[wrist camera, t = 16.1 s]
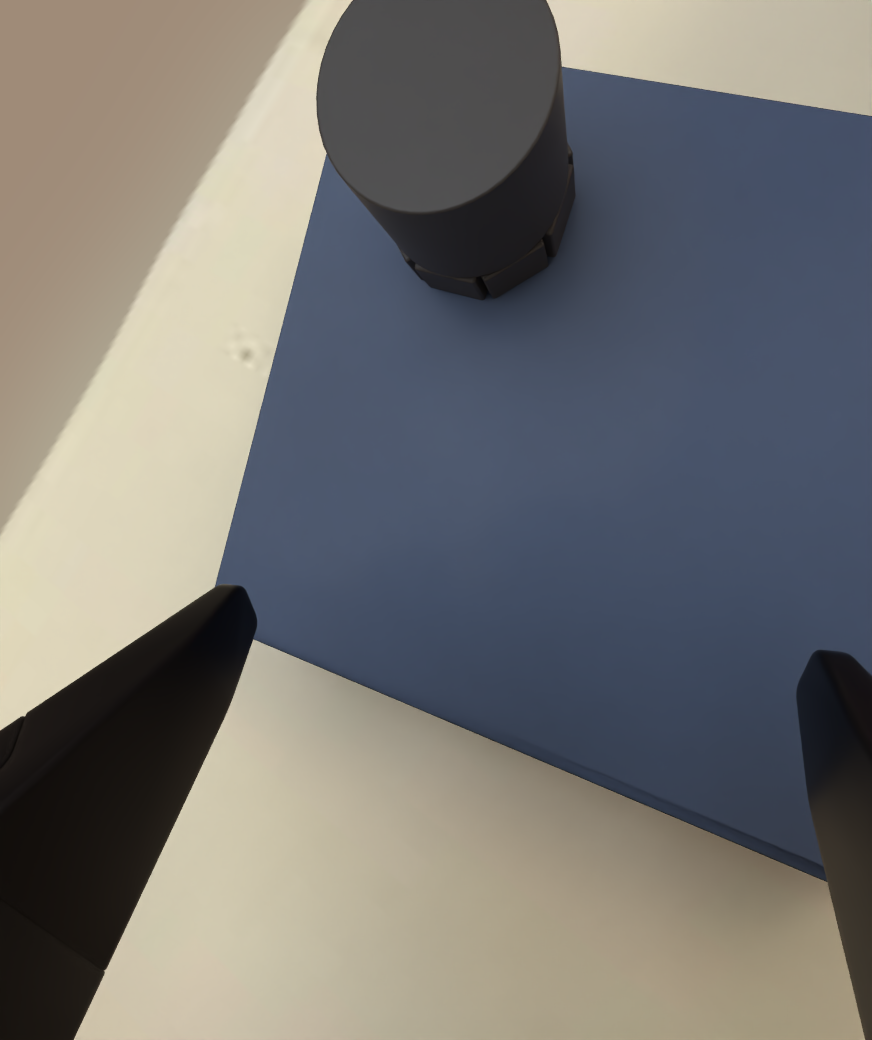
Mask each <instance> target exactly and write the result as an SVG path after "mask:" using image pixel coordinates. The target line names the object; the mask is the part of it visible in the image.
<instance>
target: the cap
mask: <svg viewBox="0 0 872 1040" xmlns="http://www.w3.org/2000/svg"><path fill="white" fill-rule="evenodd" d="M316 100H317V118H318V125H319V131H320V135H321V138H322V142H323V145H324V148H325V150H326V153H327V155H328V157H329V160H330V161H331V163H332V165H333V166H334V168H335V170H336V172H337V173H338V174H339V176H340V177H341V178H342V179H343V181H344V182H345V183H346V184H347V186H348V187H349V188H350V189H351V190H352V192H353V193H354V194H355V195H356V196H357V197H358V199H359V200H360V201H361V202H362V203H363V205H364V206H365V207H366V208H367V209H368V211H369V212H370V213H371V214H372V215H373V217H374V218H375V219H376V220H377V221H378V223H379V224H380V225H381V226H382V227H383V229H384V230H385V231H386V232H387V233H388V235H389V236H390V237H391V238H392V239H393V240H394V242H395V243H396V244H397V246H398V248H399V250H400V252H401V254H402V256H403V258H404V260H405V262H406V263H407V264H408V265H409V266H410V268H411V269H412V270H413V271H414V272H415V273H416V274H417V276H418V277H419V278H420V279H421V280H425V282H426V283H427V284H428V285H429V286H430V287H432V288H436V289H440V290H443V291H447V292H451V293H455V294H459V295H463V296H467V297H471V298H475V299H479V300H484V299H485V298H486V294H487V291H489V292H490V294H491V296H492V298H494V299H495V298H497V297H499V296H500V295H502V294H504V293H505V292H507V291H509V290H510V289H512V288H514V287H515V286H517V285H519V284H520V283H522V282H523V281H525V280H527V279H528V278H530V277H532V276H533V275H535V274H537V273H538V272H540V271H542V270H543V269H545V268H547V267H548V260H547V256H550V257H555V256H556V255H557V252H558V249H559V246H560V243H561V240H562V236H563V233H564V230H565V227H566V224H567V221H568V218H569V215H570V212H571V208H572V205H573V202H574V199H575V196H576V195H575V177H574V166H573V152H572V150H571V148H570V146H569V144H568V142H567V134H566V120H565V106H564V92H563V79H562V65H561V51H560V44H559V36H558V31H557V28H556V24H555V20H554V17H553V14H552V12H551V10H550V8H549V5H548V3H547V1H546V0H353V1H352V2H351V4H350V5H349V6H348V8H347V9H346V11H345V12H344V13H343V15H342V16H341V18H340V20H339V22H338V23H337V25H336V27H335V29H334V31H333V33H332V35H331V37H330V40H329V42H328V44H327V47H326V49H325V53H324V56H323V59H322V62H321V67H320V72H319V77H318V84H317V96H316Z"/></svg>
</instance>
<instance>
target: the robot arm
mask: <svg viewBox="0 0 872 1040" xmlns="http://www.w3.org/2000/svg"><path fill="white" fill-rule="evenodd" d="M256 629H257V616H256V613H255V611H254V608H253V606H252V603H251V601H250V598H249V596H248V594H247V591H246V589H245V588H244V587H242V586H240V585H231V584H220V585H218V586H216V587H215V588H213V589H212V590H210V591H209V592H207V593H206V594H204V595H203V596H201V597H200V598H198V599H197V600H195V601H194V602H192V603H191V604H189V605H188V606H186V607H185V608H183V609H182V610H180V611H179V612H177V613H176V614H174V615H173V616H171V617H170V618H168V619H167V620H165V621H164V622H162V623H161V624H159V625H158V626H156V627H155V628H153V629H152V630H150V631H149V632H147V633H146V634H144V635H143V636H141V637H140V638H138V639H137V640H135V641H134V642H132V643H131V644H129V645H128V646H126V647H125V648H123V649H122V650H120V651H119V652H117V653H116V654H114V655H113V656H111V657H110V658H108V659H107V660H105V661H104V662H102V663H101V664H99V665H98V666H96V667H95V668H93V669H92V670H90V671H89V672H87V673H86V674H84V675H83V676H82V677H80V678H79V679H77V680H76V681H74V682H73V683H71V684H70V685H68V686H67V687H65V688H64V689H62V690H61V691H59V692H58V693H56V694H55V695H53V696H52V697H50V698H49V699H47V700H46V701H44V702H43V703H41V704H40V705H38V706H37V707H35V708H34V709H32V710H31V711H29V712H28V713H27V714H26V716H25V717H24V716H22V717H20V718H18V719H17V720H15V721H14V722H13V723H11V724H10V725H8V726H7V727H5V728H4V729H2V730H1V731H0V1040H74V1038H75V1036H76V1033H77V1031H78V1029H79V1027H80V1025H81V1023H82V1021H83V1019H84V1016H85V1014H86V1012H87V1010H88V1008H89V1006H90V1004H91V1002H92V999H93V997H94V995H95V993H96V991H97V989H98V987H99V985H100V982H101V980H102V978H103V976H104V974H105V971H104V970H106V968H107V967H108V965H109V962H110V960H111V958H112V956H113V954H114V952H115V950H116V948H117V945H118V943H119V941H120V939H121V937H122V935H123V933H124V931H125V928H126V926H127V924H128V922H129V920H130V918H131V916H132V913H133V911H134V909H135V907H136V905H137V903H138V901H139V899H140V896H141V894H142V892H143V890H144V888H145V886H146V884H147V882H148V879H149V877H150V875H151V873H152V871H153V869H154V867H155V864H156V862H157V860H158V858H159V856H160V854H161V852H162V850H163V847H164V845H165V843H166V841H167V839H168V837H169V835H170V833H171V830H172V828H173V826H174V824H175V822H176V820H177V818H178V816H179V813H180V811H181V809H182V807H183V805H184V803H185V801H186V798H187V796H188V794H189V792H190V790H191V788H192V786H193V784H194V781H195V779H196V777H197V775H198V773H199V771H200V769H201V767H202V764H203V762H204V760H205V758H206V756H207V754H208V752H209V750H210V747H211V745H212V743H213V741H214V739H215V737H216V735H217V732H218V730H219V728H220V726H221V724H222V722H223V720H224V717H225V715H226V713H227V711H228V708H229V706H230V703H231V701H232V698H233V696H234V693H235V690H236V687H237V684H238V681H239V678H240V676H241V673H242V670H243V667H244V664H245V661H246V658H247V655H248V653H249V650H250V647H251V644H252V641H253V638H254V635H255V632H256ZM796 701H797V710H798V718H799V727H800V736H801V744H802V753H803V762H804V770H805V779H806V787H807V794H808V801H809V806H810V811H811V816H812V820H813V824H814V829H815V833H816V837H817V841H818V845H819V849H820V853H821V858H822V862H823V866H824V870H825V874H826V878H827V882H828V887H829V891H830V895H831V899H832V903H833V907H834V911H835V916H836V920H837V924H838V928H839V932H840V936H841V940H842V945H843V949H844V953H845V957H846V961H847V965H848V969H849V974H850V978H851V982H852V986H853V990H854V994H855V999H856V1003H857V1007H858V1011H859V1015H860V1019H861V1023H862V1028H863V1032H864V1036H865V1040H872V675H871V674H870V673H869V672H868V671H867V670H866V669H865V668H864V667H863V666H862V665H861V664H860V663H859V662H858V661H857V660H856V659H855V658H854V657H853V656H851V655H850V654H848V653H845V652H839V651H830V650H816V651H815V652H813V654H812V655H811V657H810V659H809V661H808V663H807V665H806V667H805V670H804V672H803V674H802V676H801V678H800V680H799V682H798V685H797V691H796Z"/></svg>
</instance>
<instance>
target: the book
mask: <svg viewBox="0 0 872 1040" xmlns="http://www.w3.org/2000/svg"><path fill="white" fill-rule="evenodd" d="M562 79H563V92H564V106H565V120H566V134H567V142H568V144H569V146H570V148H571V150H572V152H573V166H574V177H575V195H576V196H575V199H574V202H573V205H572V208H571V212H570V215H569V218H568V221H567V224H566V227H565V230H564V233H563V236H562V240H561V243H560V246H559V249H558V252H557V255H556V256H555V257H550V256H547V260H548V267H547V268H545V269H543V270H542V271H540V272H538V273H537V274H535V275H533V276H532V277H530V278H528V279H527V280H525V281H523V282H522V283H520V284H519V285H517V286H515V287H514V288H512V289H510V290H509V291H507V292H505V293H504V294H502V295H500V296H499V297H497V298H495V299H494V298H492V296H491V294H490V292H489V291H487V294H486V298H485V299H484V300H479V299H475V298H471V297H467V296H463V295H459V294H455V293H451V292H447V291H443V290H440V289H436V288H432V287H430V286H429V285H428V284H427V283H426V282H425V280H421V279H420V278H419V277H418V276H417V274H416V273H415V272H414V271H413V270H412V269H411V268H410V266H409V265H408V264H407V263H406V262H405V260H404V258H403V256H402V254H401V252H400V250H399V248H398V246H397V244H396V243H395V242H394V240H393V239H392V238H391V237H390V236H389V235H388V233H387V232H386V231H385V230H384V229H383V227H382V226H381V225H380V224H379V223H378V221H377V220H376V219H375V218H374V217H373V215H372V214H371V213H370V212H369V211H368V209H367V208H366V207H365V206H364V205H363V203H362V202H361V201H360V200H359V199H358V197H357V196H356V195H355V194H354V193H353V192H352V190H351V189H350V188H349V187H348V186H347V184H346V183H345V182H344V181H343V179H342V178H341V177H340V176H339V174H338V173H337V172H336V170H335V168H334V166H333V165H332V163H331V161H330V160H329V157H328V155H327V154H326V158H325V162H324V166H323V170H322V174H321V178H320V182H319V185H318V189H317V193H316V197H315V201H314V205H313V209H312V213H311V216H310V220H309V224H308V228H307V232H306V236H305V240H304V244H303V248H302V251H301V255H300V259H299V263H298V267H297V271H296V275H295V279H294V282H293V286H292V290H291V294H290V298H289V302H288V306H287V310H286V313H285V317H284V321H283V325H282V329H281V333H280V337H279V341H278V344H277V348H276V352H275V356H274V360H273V364H272V368H271V372H270V375H269V379H268V383H267V387H266V391H265V395H264V399H263V403H262V406H261V410H260V414H259V418H258V422H257V426H256V430H255V434H254V438H253V441H252V445H251V449H250V453H249V457H248V461H247V465H246V469H245V472H244V476H243V480H242V484H241V488H240V492H239V496H238V500H237V503H236V507H235V511H234V515H233V519H232V523H231V527H230V531H229V534H228V538H227V542H226V546H225V550H224V554H223V558H222V562H221V565H220V569H219V573H218V577H217V581H216V585H215V587H216V586H218V585H220V584H231V585H240V586H242V587H244V588H245V589H246V591H247V594H248V596H249V598H250V601H251V603H252V606H253V608H254V611H255V613H256V616H257V629H256V632H255V635H254V638H253V639H254V640H257V641H259V642H261V643H264V644H266V645H268V646H271V647H273V648H276V649H278V650H280V651H283V652H285V653H287V654H290V655H292V656H294V657H297V658H299V659H301V660H304V661H306V662H309V663H311V664H313V665H316V666H318V667H320V668H323V669H325V670H327V671H330V672H332V673H335V674H337V675H339V676H342V677H344V678H346V679H349V680H351V681H353V682H356V683H358V684H361V685H363V686H365V687H368V688H370V689H372V690H375V691H377V692H379V693H382V694H384V695H387V696H389V697H391V698H394V699H396V700H398V701H401V702H403V703H405V704H408V705H410V706H413V707H415V708H417V709H420V710H422V711H424V712H427V713H429V714H431V715H434V716H436V717H439V718H441V719H443V720H446V721H448V722H450V723H453V724H455V725H457V726H460V727H462V728H465V729H467V730H469V731H472V732H474V733H476V734H479V735H481V736H483V737H486V738H488V739H491V740H493V741H495V742H498V743H500V744H502V745H505V746H507V747H509V748H512V749H514V750H517V751H519V752H521V753H524V754H526V755H528V756H531V757H533V758H535V759H538V760H540V761H543V762H545V763H547V764H550V765H552V766H554V767H557V768H559V769H561V770H564V771H566V772H568V773H571V774H573V775H576V776H578V777H580V778H583V779H585V780H587V781H590V782H592V783H594V784H597V785H599V786H602V787H604V788H606V789H609V790H611V791H613V792H616V793H618V794H620V795H623V796H625V797H628V798H630V799H632V800H635V801H637V802H639V803H642V804H644V805H646V806H649V807H651V808H654V809H656V810H658V811H661V812H663V813H665V814H668V815H670V816H672V817H675V818H677V819H680V820H682V821H684V822H687V823H689V824H691V825H694V826H696V827H698V828H701V829H703V830H706V831H708V832H710V833H713V834H715V835H717V836H720V837H722V838H724V839H727V840H729V841H732V842H734V843H736V844H739V845H741V846H743V847H746V848H748V849H750V850H753V851H755V852H758V853H760V854H762V855H765V856H767V857H769V858H772V859H774V860H776V861H779V862H781V863H784V864H786V865H788V866H791V867H793V868H795V869H798V870H800V871H802V872H805V873H807V874H810V875H812V876H814V877H817V878H819V879H821V880H824V881H826V882H827V878H826V874H825V870H824V866H823V862H822V858H821V853H820V849H819V845H818V841H817V837H816V833H815V829H814V824H813V820H812V816H811V811H810V806H809V801H808V794H807V787H806V779H805V770H804V762H803V753H802V744H801V736H800V727H799V718H798V710H797V701H796V691H797V685H798V682H799V680H800V678H801V676H802V674H803V672H804V670H805V667H806V665H807V663H808V661H809V659H810V657H811V655H812V654H813V652H815V651H816V650H830V651H839V652H845V653H848V654H850V655H851V656H853V657H854V658H855V659H856V660H857V661H858V662H859V663H860V664H861V665H862V666H863V667H864V668H865V669H866V670H867V671H868V672H869V673H870V674H871V675H872V116H867V115H861V114H854V113H848V112H842V111H835V110H829V109H823V108H817V107H810V106H804V105H798V104H792V103H785V102H779V101H773V100H767V99H760V98H754V97H748V96H742V95H735V94H729V93H723V92H716V91H710V90H704V89H698V88H691V87H685V86H679V85H673V84H666V83H660V82H654V81H648V80H641V79H635V78H629V77H623V76H616V75H610V74H604V73H597V72H591V71H585V70H579V69H572V68H566V67H562Z"/></svg>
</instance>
